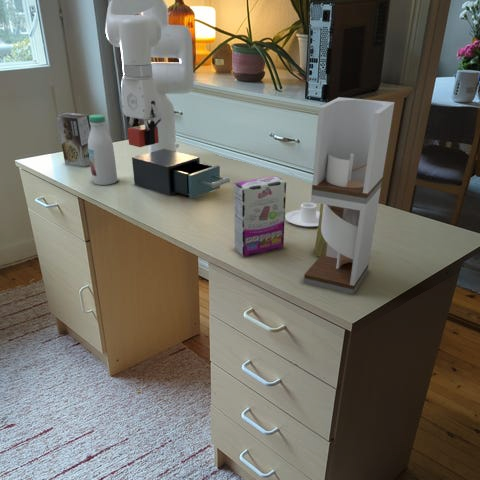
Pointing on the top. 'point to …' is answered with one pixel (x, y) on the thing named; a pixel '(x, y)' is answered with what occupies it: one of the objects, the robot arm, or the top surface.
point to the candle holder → (304, 215)
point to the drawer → (196, 179)
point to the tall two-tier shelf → (348, 187)
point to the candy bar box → (259, 215)
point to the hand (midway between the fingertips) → (144, 142)
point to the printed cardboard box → (74, 138)
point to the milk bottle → (101, 152)
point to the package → (139, 136)
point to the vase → (320, 238)
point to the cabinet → (158, 169)
